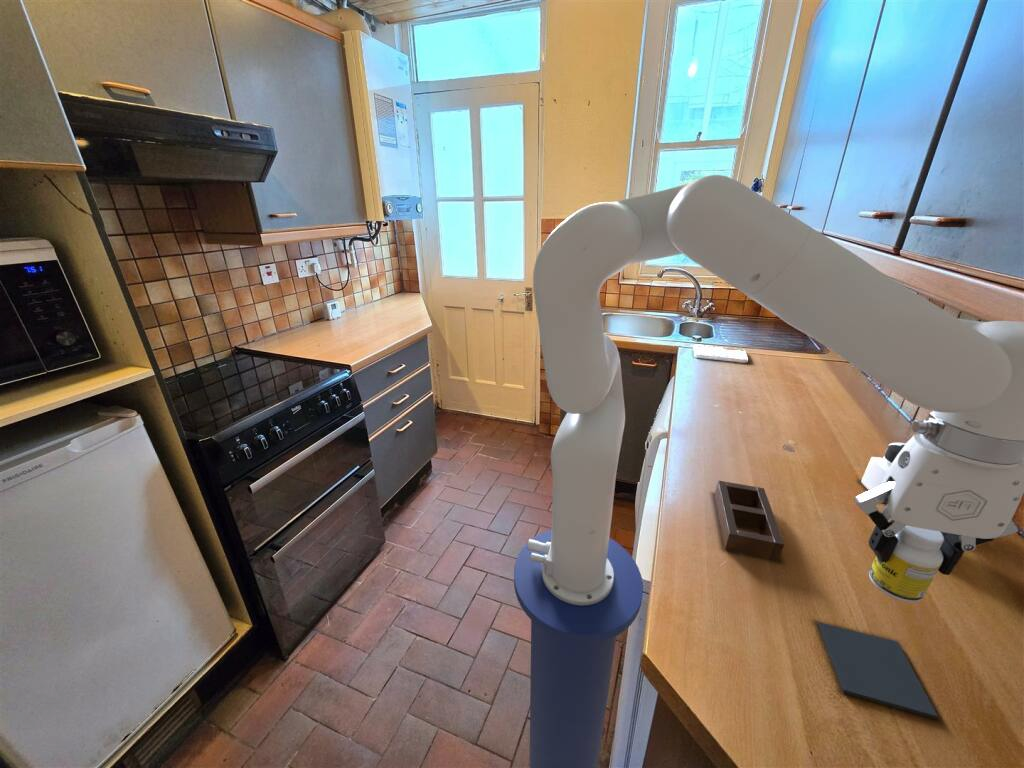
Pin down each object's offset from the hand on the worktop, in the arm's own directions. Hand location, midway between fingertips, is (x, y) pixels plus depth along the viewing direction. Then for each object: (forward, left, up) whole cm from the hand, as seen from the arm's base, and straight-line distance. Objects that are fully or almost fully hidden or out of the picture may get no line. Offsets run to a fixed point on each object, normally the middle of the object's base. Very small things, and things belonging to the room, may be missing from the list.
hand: (907, 558), depth 51 cm
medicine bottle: (+21, +43, -19) cm, 51 cm away
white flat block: (-3, +128, -19) cm, 129 cm away
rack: (-11, +23, -18) cm, 32 cm away
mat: (+1, -2, -18) cm, 19 cm away
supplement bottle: (0, 0, -5) cm, 5 cm away
